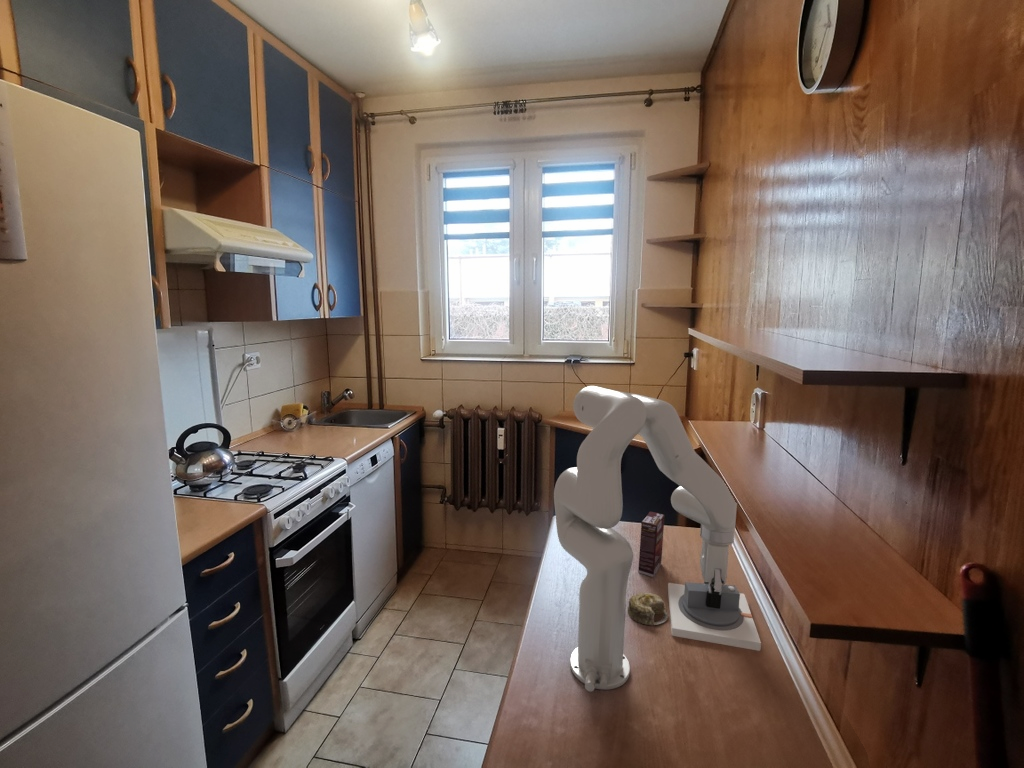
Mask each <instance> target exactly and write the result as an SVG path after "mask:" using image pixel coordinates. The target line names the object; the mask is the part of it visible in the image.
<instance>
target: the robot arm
mask: <svg viewBox="0 0 1024 768" xmlns="http://www.w3.org/2000/svg"><path fill="white" fill-rule="evenodd" d="M573 399H574V400H573V403H572V407H573V408H572V409H573V410H572V411H573V414H574V415H575V417H576V418H577V420H578V421H580V423H582V424H584V425H586V426H589V427H591V428H592V429H591V431H590V432H589V434H588V435H587V436H586V437H585V438H584V439H583V441H581V444H580V446H579V448H578V452H577V455H576V466H574V467H569V468H566V469H565V470H563V472H562V473H560V474H559V477H558V478H557V480H556V482H555V486H554V489H553V503H554V514H555V515H554V516H555V522H556V523H555V524H556V533H557V539H558V542H559V544H560V546H561V547H562V549H563V550H564V551H565V552H566V553H568V554H569V555H570V556H571V557H572V558H573V559H575V560H576V561H578V563H579V564H581V565H582V566H583V567H584V569H585V570H586V575H585V577H584V579H582V581H581V583H580V586H579V593H578V595H579V597H578V599H579V600H578V602H579V604H578V634H577V635H578V638H577V639H578V640H577V647H575V649H573V651H572V653H571V655H570V659H569V663H570V664H569V667H570V669H571V671H572V674H573V675H574V677H575V678H576V679H577V680H578V681H580V682H581V683H583V684H584V688H585V690H586V691H587V692H594V691H595V689H598V690H613V689H617V688H619V687H621V686H623V685H624V684H625V683H626V682H627V681H628V679H629V677H630V672H631V665H630V662H629V660H628V658H627V656H626V655H625V653H624V647H625V646H624V643H625V624H626V623H625V622H626V606H627V605H626V601H627V600H626V599H627V587H628V581H629V576H630V573H631V569H632V565H633V562H634V560H633V559H634V551H633V548H632V546H631V544H630V542H629V540H627V539H626V537H624V536H623V535H622V534H621V533H619V532H618V531H617V530H616V529H614V527H615V526H616V525H618V524H619V523H620V520H621V518H622V516H623V508H624V505H623V504H624V503H623V489H622V488H623V486H622V473H621V472H622V471H621V467H622V465H621V464H622V458H623V454H624V453H625V451H626V449H627V448H628V446H629V444H630V443H631V442H632V441H633V440H634V438H636V437H637V436H641V437H642V439H643V440H644V443H645V444H646V446H647V448H648V450H649V452H650V455H651V456H652V459H653V460H654V462H655V464H656V466H657V468H658V470H659V471H660V472H662V473H663V474H664V475H665V476H666V477H667V478H668V479H669V480H671V481H672V482H674V483H675V484H676V485H678V487H677V488H675V489H674V490H673V492H672V494H671V496H670V503H671V506H672V508H673V509H674V510H675V511H676V512H677V513H678V514H680V515H682V516H684V517H685V518H688V519H690V520H692V521H694V522H696V523H698V524H700V530H699V532H700V534H699V536H700V538H701V539H702V542H701V543H702V544H701V549H700V550H701V551H700V560H699V565H700V571H701V575H702V579H703V581H704V582H703V583H705V584H709V587H708V591H707V596H706V606H707V607H711V608H717V609H720V606H721V587H722V585H726V583H727V577H728V567H729V566H728V565H729V546H730V545H732V544H734V543H735V532H736V530H735V529H736V523H737V522H736V519H737V509H738V507H737V506H738V502H737V503H736V502H735V500H734V498H733V496H732V495H731V493H730V491H729V489H728V487H727V486H726V484H725V483H724V481H725V480H723V478H722V477H720V475H719V474H718V473H717V472H715V470H714V469H713V468H712V467H710V465H709V464H708V463H707V462H706V461H705V460H704V459H703V458H702V457H701V456H700V455H699V454H698V453H697V452H696V451H695V449H694V447H693V445H692V442H691V441H690V438H689V436H688V434H687V432H686V430H685V427H684V425H683V423H682V419H681V418H680V416H679V414H678V411H677V410H676V409H675V407H674V406H673V405H672V404H671V403H669V402H667V401H665V400H662V399H658V398H656V397H650V396H646V395H642V394H638V393H632V392H626V391H620V390H616V389H610V388H608V387H607V388H605V387H601V386H596V385H588V386H586V387H583V388H581V389H580V390H579V391H578V392H577V394H576V395H575V397H574V398H573ZM712 584H714V586H712Z"/></svg>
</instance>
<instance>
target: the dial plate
mask: <svg viewBox="0 0 1024 768" xmlns="http://www.w3.org/2000/svg"><path fill="white" fill-rule="evenodd" d="M684 591H685V584H680V583H673V582H668V583H667V594H668V595H667V596H668V607H669V619H670V620H669V621H670V633H671V636H673V637H677V638H684V639H689V640H695V641H701V642H707V643H713V644H719V645H724V646H730V647H733V648H734V647H735V648H741V649H747V650H753V651H757V652H758V651H759V652H761V647H762V642H761V638H760V635H759V633H758V629H757V627H756V624H755V621H754V619H753V615H752V611H751V610H750V606H749V603H748V601H747V598H746V595H745V593H740V592H739V593H740V600H739V610H740V613H739V619H738V621H737V622H736V623H735V624H733V625H730V626H713V625H708V624H705V623H702V622H700V621H698V620H696V619H694V618H693V617H691V616H690V615H689V614H688V613H687V612H686V611H685V609H684V607H683V596H684Z"/></svg>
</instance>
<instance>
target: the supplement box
mask: <svg viewBox="0 0 1024 768" xmlns="http://www.w3.org/2000/svg"><path fill="white" fill-rule="evenodd" d="M640 525H641V526H640V542H639V555H638V556H639V557H638V570H637V573H639V574H640V575H645V576H648V577H652V578H654V577H655V575H656V574H657V572H658V570H659V568H660V567H661V565H662V557H663V546H664V545H663V543H664V530H665V529H664V527H665V514H662V513H659V512H654V511H649V512H648V514H647V515H646V517H645V518H644V519H642V521H641V524H640Z"/></svg>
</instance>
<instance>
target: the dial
mask: <svg viewBox="0 0 1024 768" xmlns="http://www.w3.org/2000/svg"><path fill="white" fill-rule="evenodd" d="M684 585H685V591H684V596H683V607H684V609H685V611H686V612H687V613H688V614H689V615H690V616H691V617H693V618H694V619H696V620H698V621H700V622H702V623H705V624H708V625H713V626H730V625H733V624H735V623H736V622H737V621H738V619H739V613H740V610H739V600H740V591H739V589H738V588H737V586H736V585H733V584H724V585H723V584H722V587H721V606H720V609H717V608H711V607H707V606H706V596H707V591H708V587H709V584H705V583H704V582H703V583H702V582H701V583H700V582H691V581H690V582H686V581H685V582H684ZM712 586H714V584H712Z"/></svg>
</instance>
